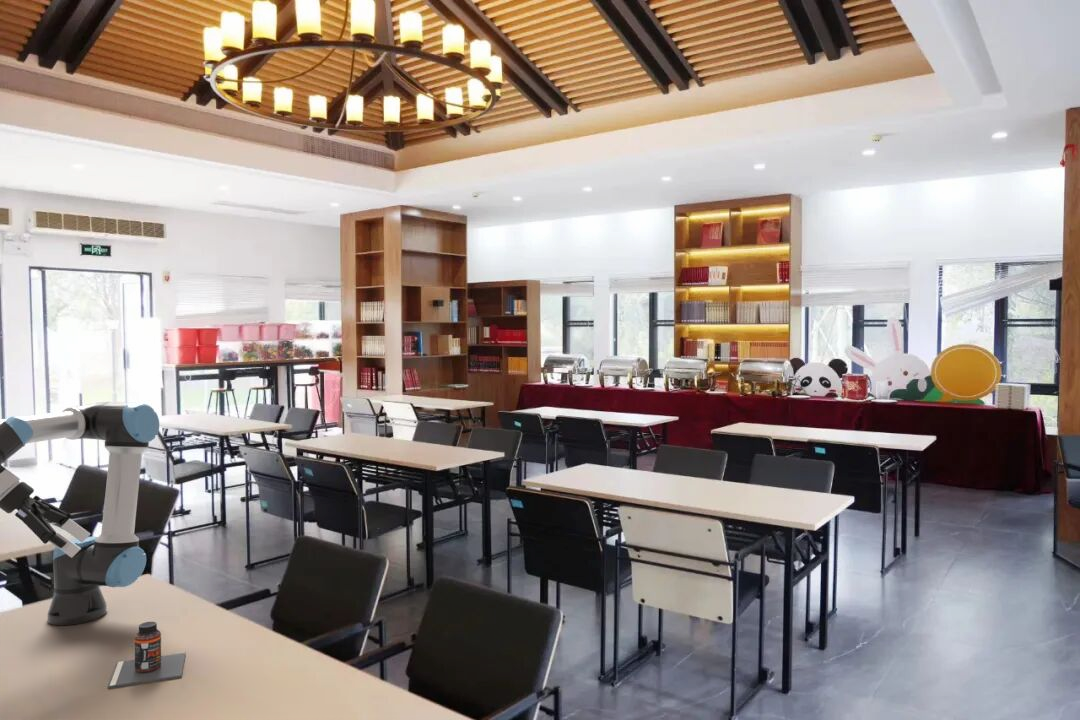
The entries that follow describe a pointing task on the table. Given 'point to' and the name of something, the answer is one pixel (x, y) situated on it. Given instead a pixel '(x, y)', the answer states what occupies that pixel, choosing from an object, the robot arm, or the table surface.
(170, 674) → the grey flat slab
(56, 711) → the table surface
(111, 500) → the robot arm
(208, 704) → the table surface
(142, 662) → the supplement bottle
